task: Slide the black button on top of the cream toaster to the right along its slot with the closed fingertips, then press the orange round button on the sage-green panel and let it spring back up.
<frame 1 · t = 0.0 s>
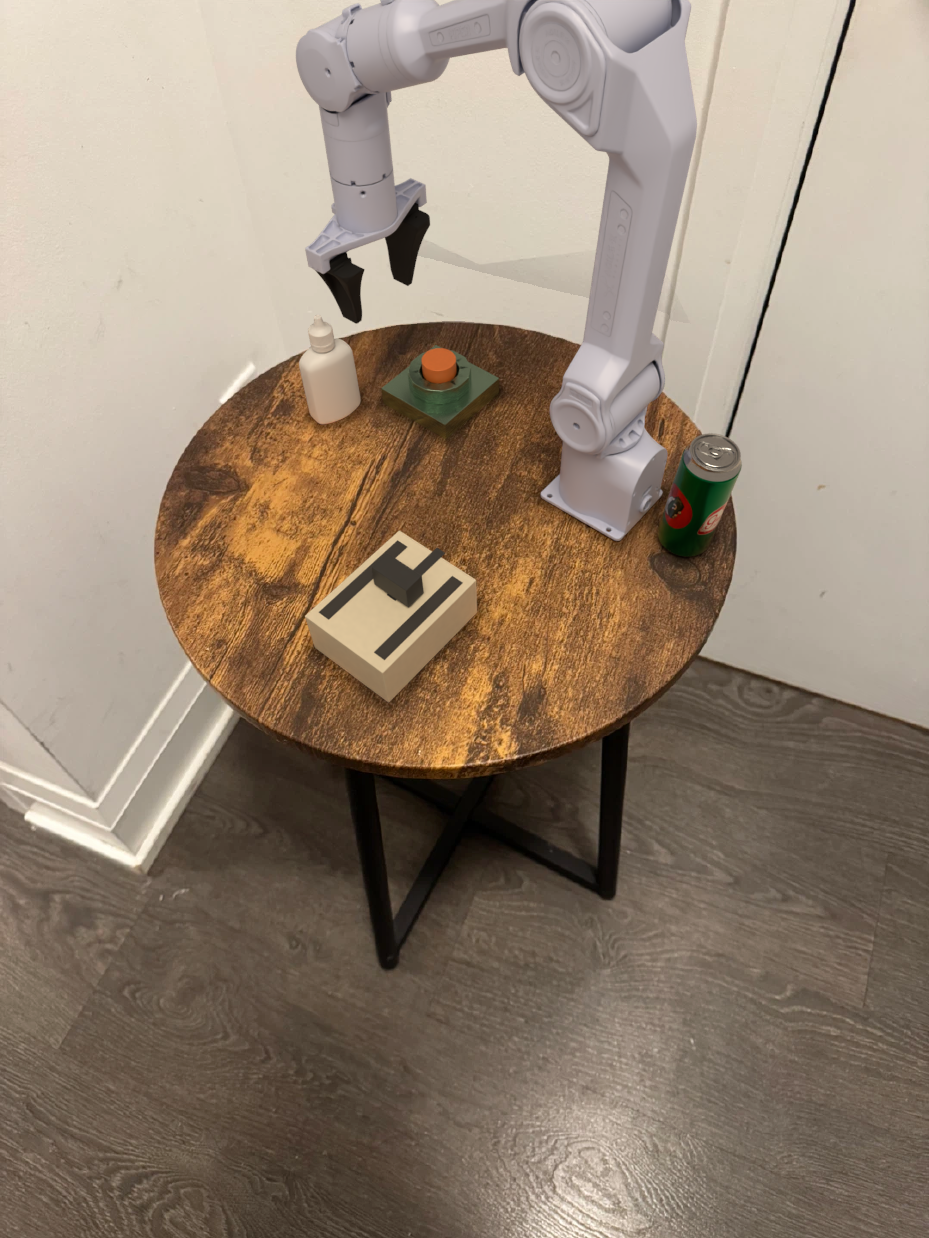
hand: (377, 299, 91), 10 cm above the table, tool pointing down, fingers open, 7 cm apart
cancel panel: (441, 398, 97), on the table
eye dropper bottle: (336, 411, 97), on the table
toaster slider: (397, 580, 75), point 6 cm above the table, slide at 0.0 cm
soda can: (682, 540, 85), on the table
cancel button: (439, 366, 93), point 4 cm above the table, slide at 0.1 cm
toaster: (396, 629, 80), on the table
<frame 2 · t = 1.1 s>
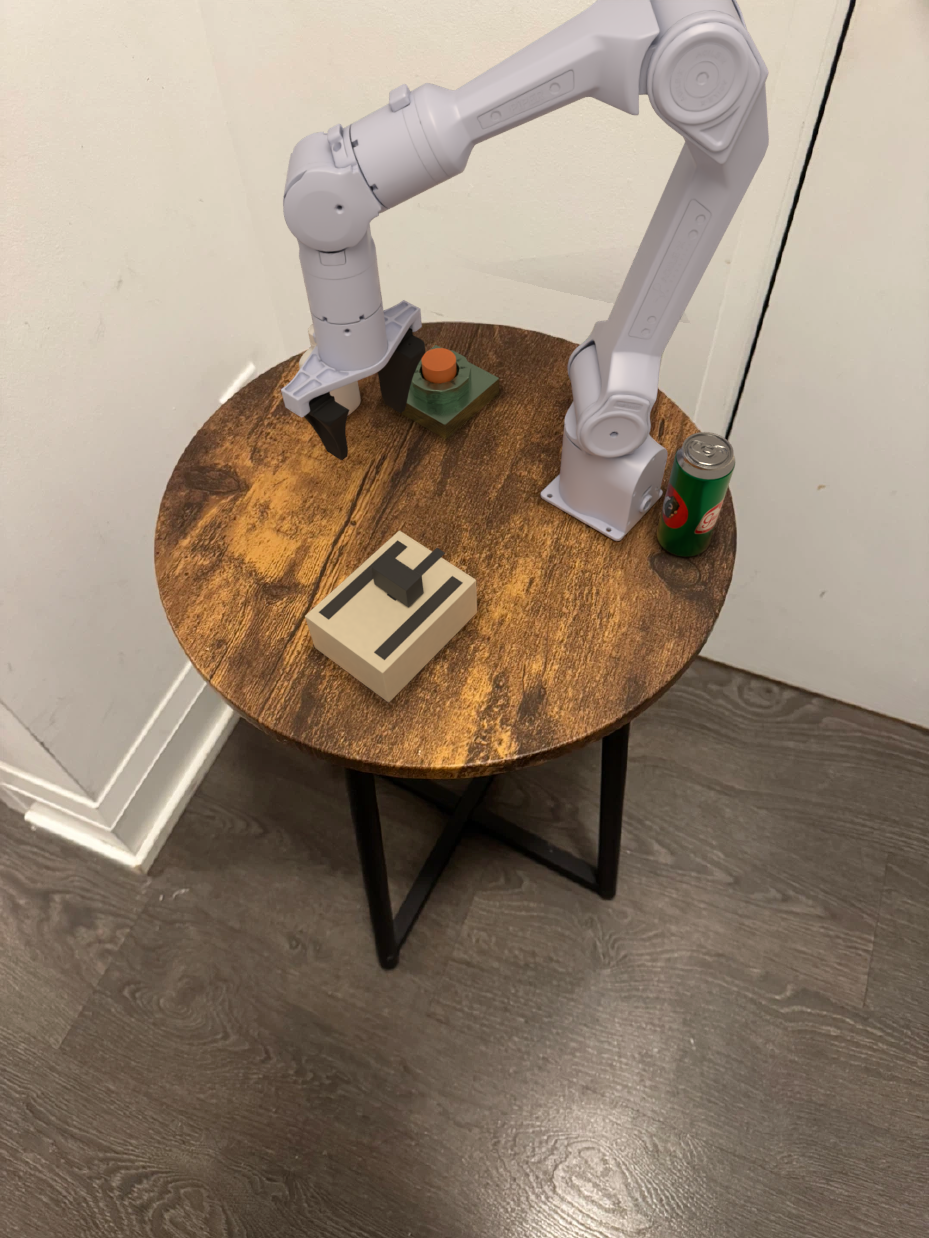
hand: (366, 429, 81), 10 cm above the table, tool pointing down, fingers open, 7 cm apart
nothing on the table moved.
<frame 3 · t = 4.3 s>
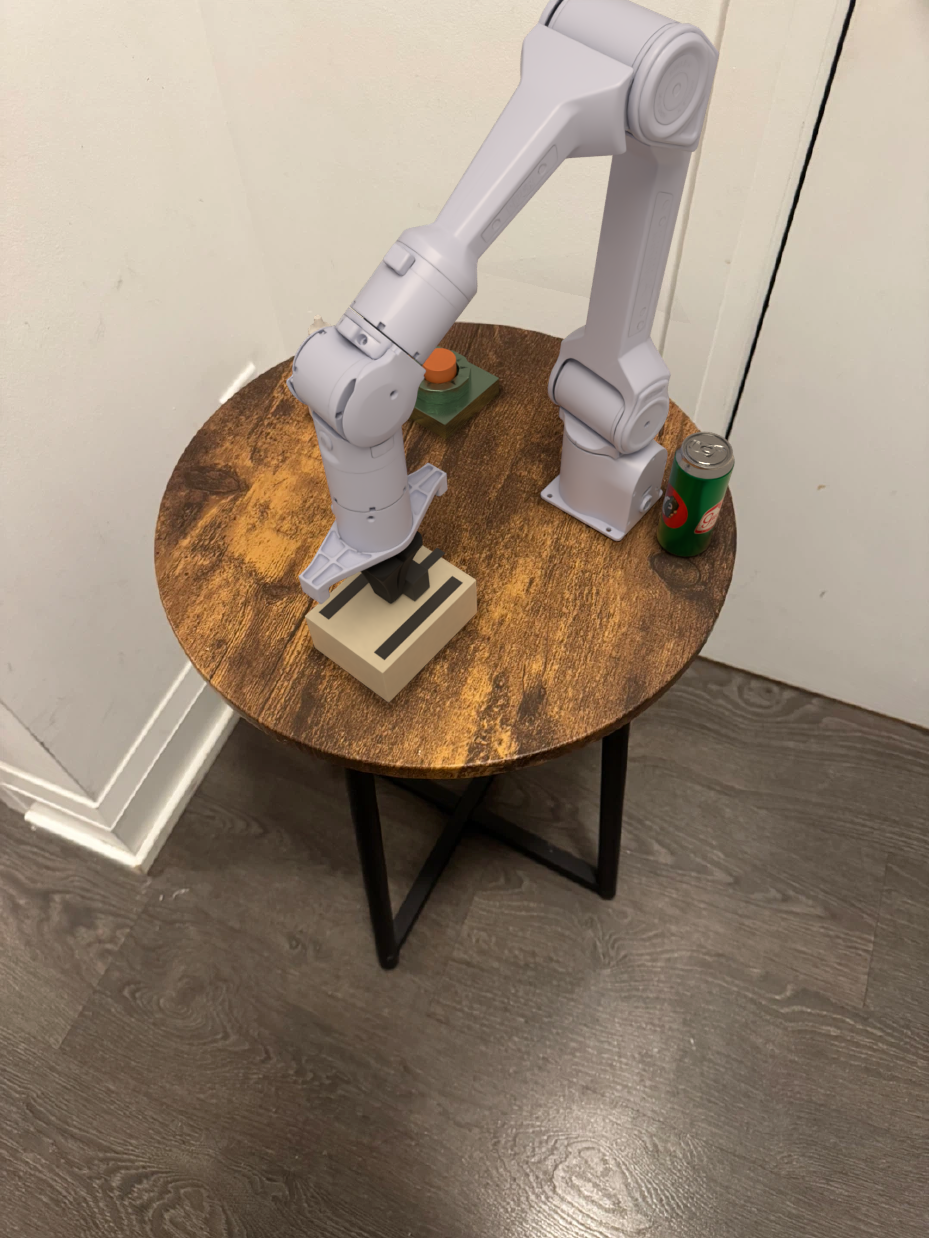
hand: (387, 593, 75), 6 cm above the table, tool pointing down, fingers closed
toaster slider: (403, 574, 76), point 6 cm above the table, slide at 0.8 cm, touching gripper
everything else where it was.
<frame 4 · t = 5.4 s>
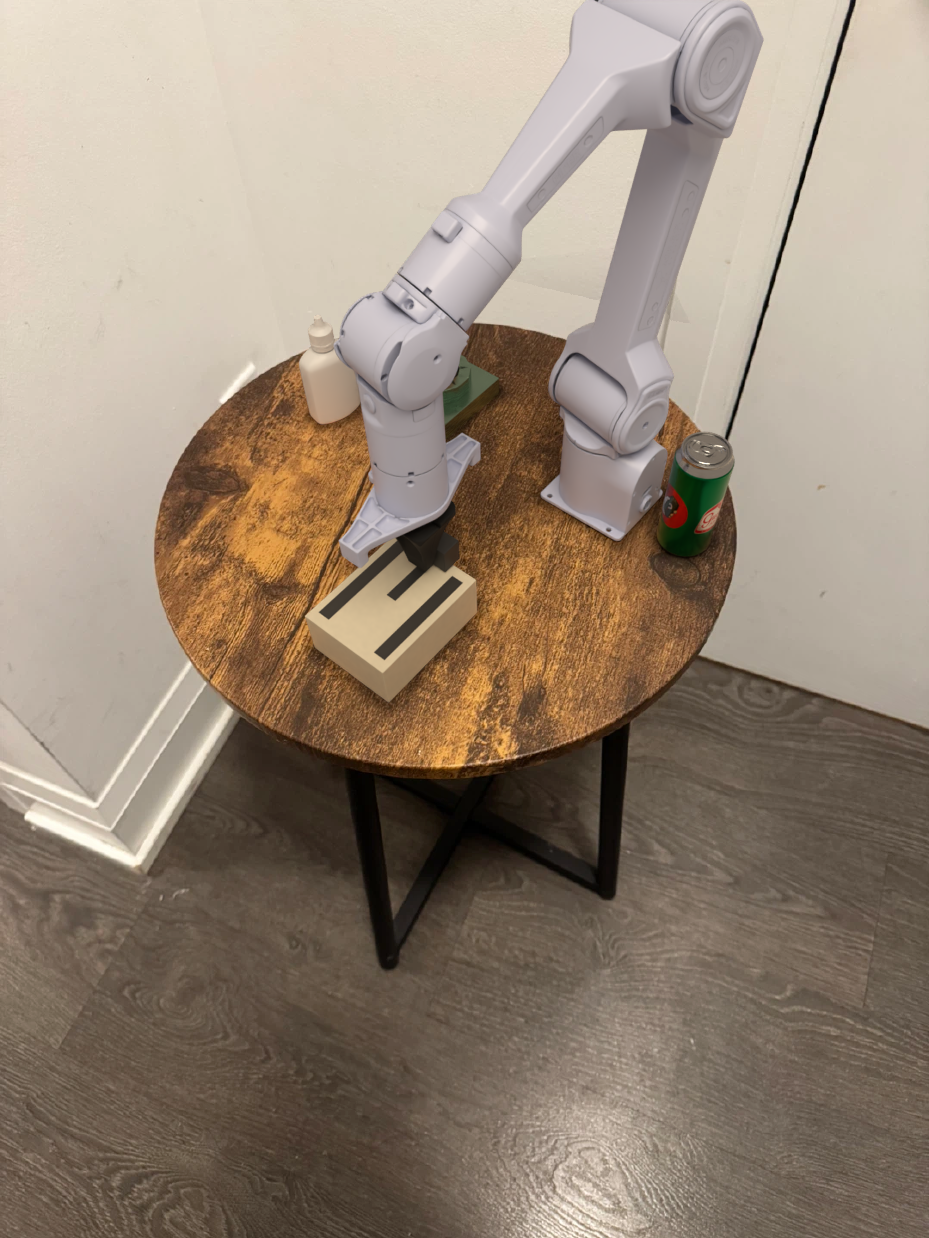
hand: (420, 562, 77), 6 cm above the table, tool pointing down, fingers closed
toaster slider: (434, 545, 77), point 6 cm above the table, slide at 4.8 cm, touching gripper
everything else where it was.
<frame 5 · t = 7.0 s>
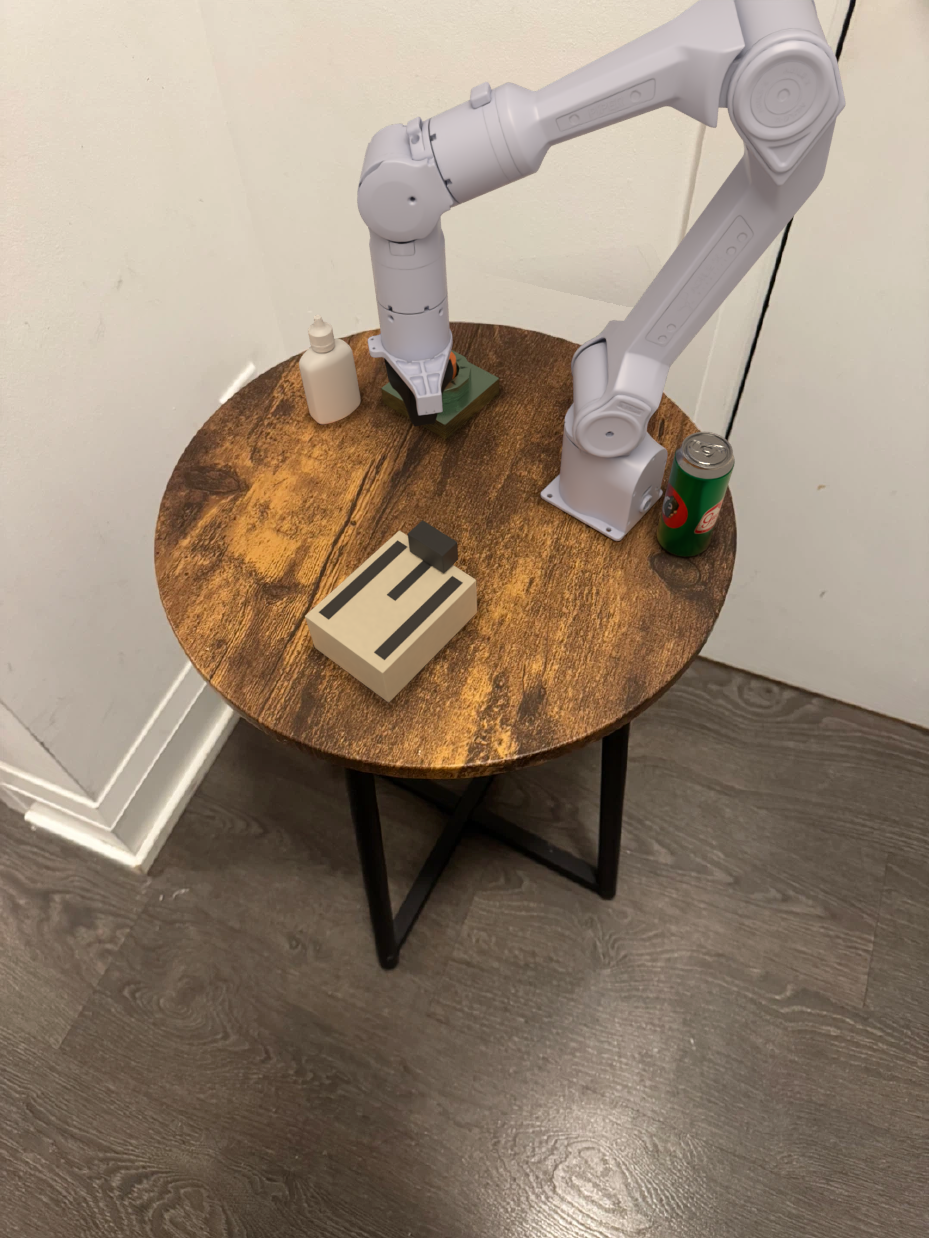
hand: (423, 420, 82), 9 cm above the table, tool pointing down, fingers closed
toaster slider: (433, 546, 77), point 6 cm above the table, slide at 4.6 cm
everything else where it was.
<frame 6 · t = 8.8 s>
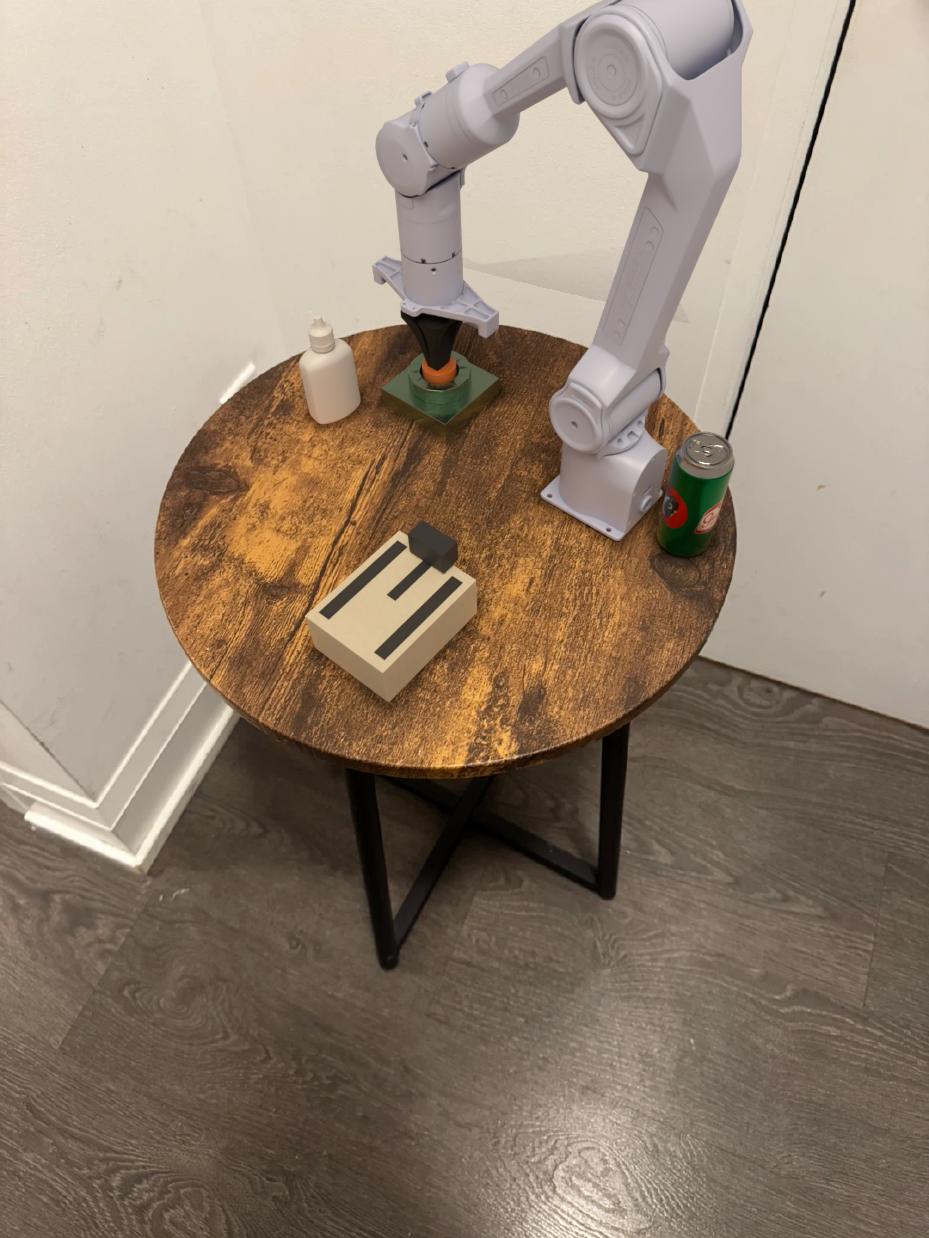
hand: (438, 363, 93), 5 cm above the table, tool pointing down, fingers closed, pressing on cancel button
cancel button: (439, 370, 94), point 4 cm above the table, slide at -0.5 cm, touching gripper
everything else where it was.
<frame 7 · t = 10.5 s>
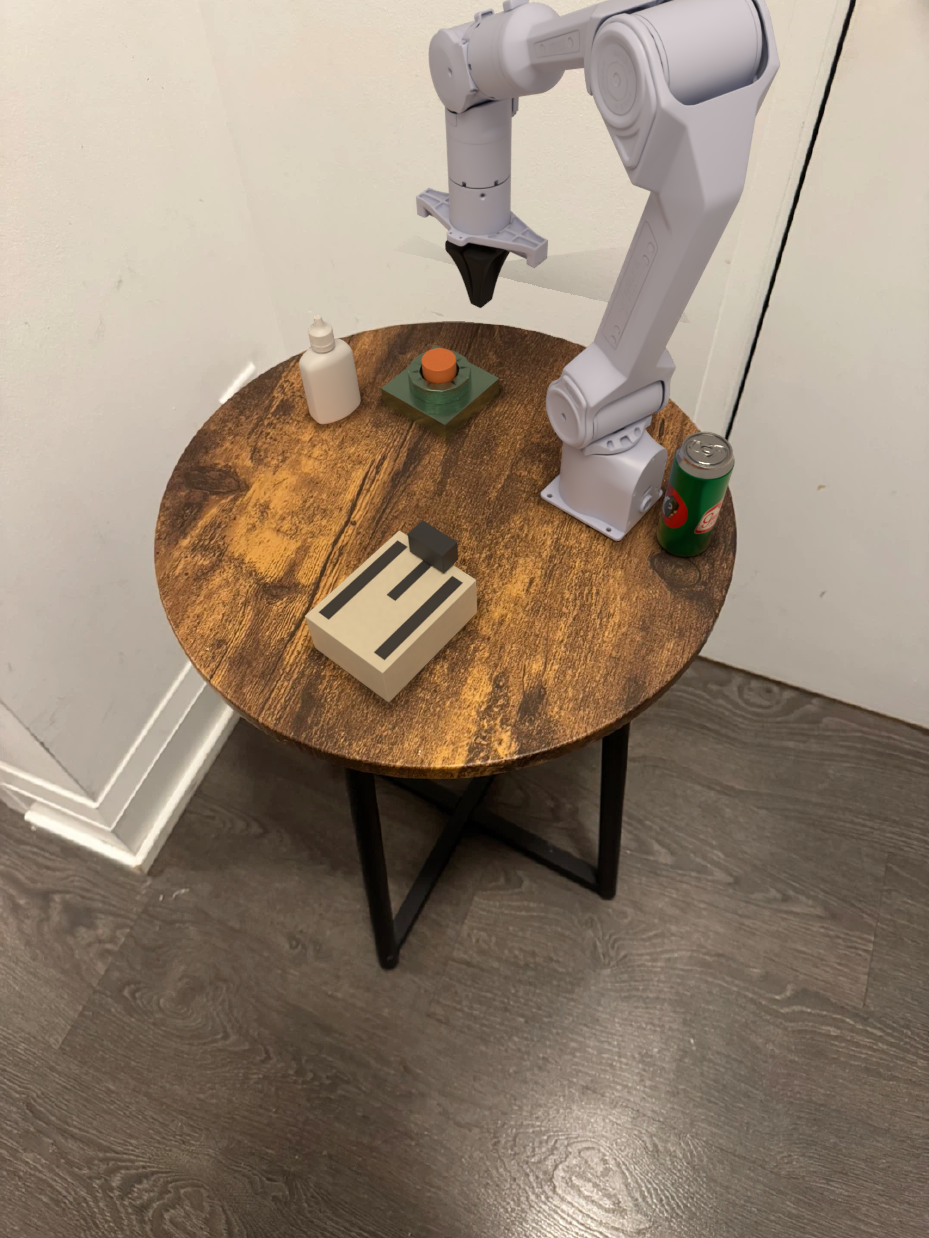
hand: (481, 301, 91), 9 cm above the table, tool pointing down, fingers closed
cancel button: (439, 365, 93), point 4 cm above the table, slide at 0.1 cm
everything else where it was.
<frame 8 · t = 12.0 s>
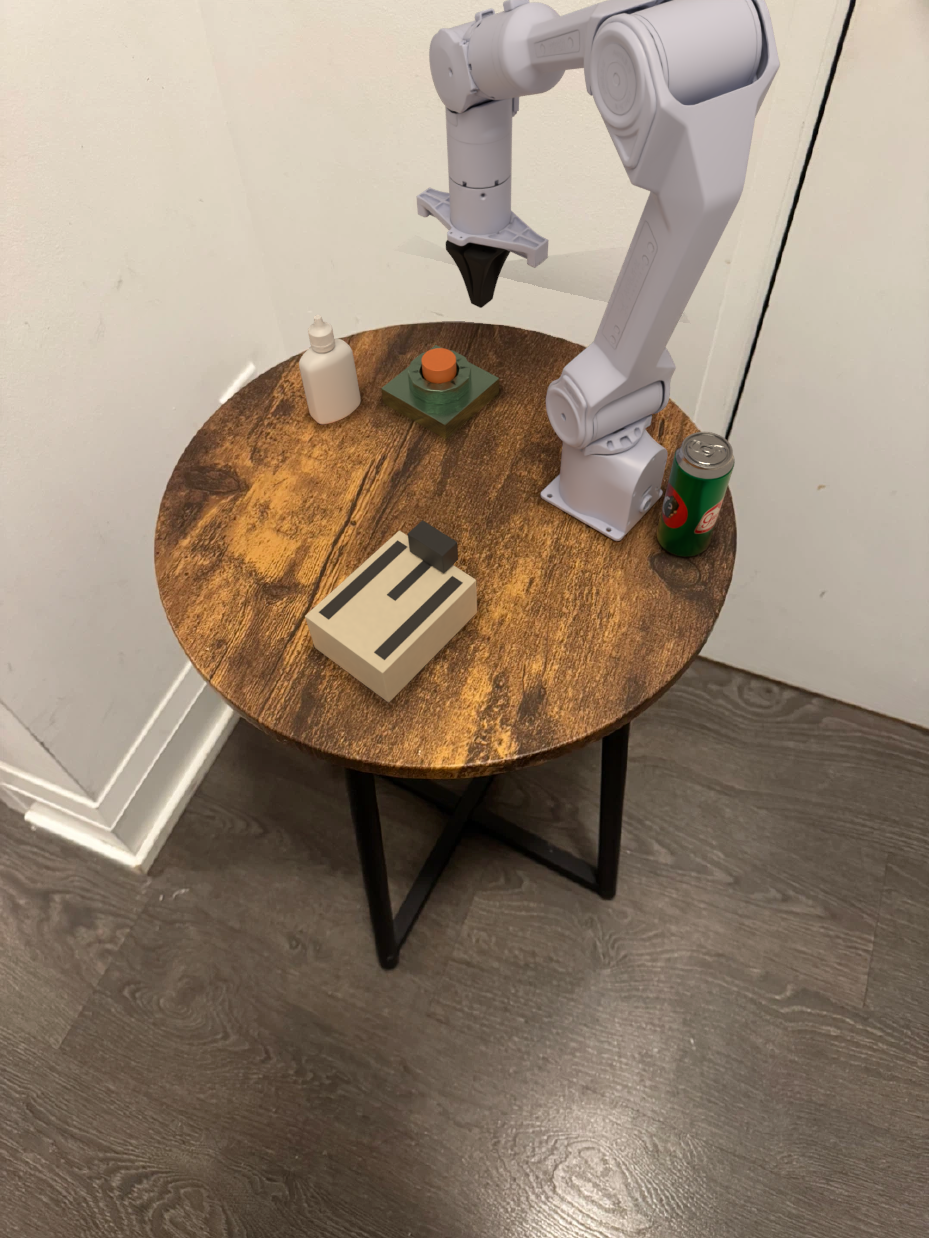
hand: (481, 301, 91), 9 cm above the table, tool pointing down, fingers closed
nothing on the table moved.
at the end: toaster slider slide at 4.6 cm; cancel button pushed in 1.2 cm at the most during the clip, back to where it started at the end; cancel button slide at 0.1 cm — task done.
